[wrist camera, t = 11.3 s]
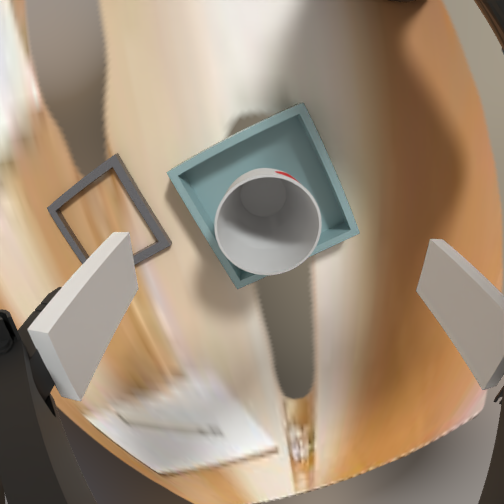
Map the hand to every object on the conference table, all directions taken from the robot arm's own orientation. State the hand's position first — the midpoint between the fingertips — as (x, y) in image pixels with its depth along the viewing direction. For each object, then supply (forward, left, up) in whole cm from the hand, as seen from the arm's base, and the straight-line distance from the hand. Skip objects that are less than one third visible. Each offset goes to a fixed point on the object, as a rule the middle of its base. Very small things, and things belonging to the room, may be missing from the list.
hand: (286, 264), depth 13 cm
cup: (+1, +2, -21) cm, 21 cm away
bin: (+1, +3, -21) cm, 21 cm away
